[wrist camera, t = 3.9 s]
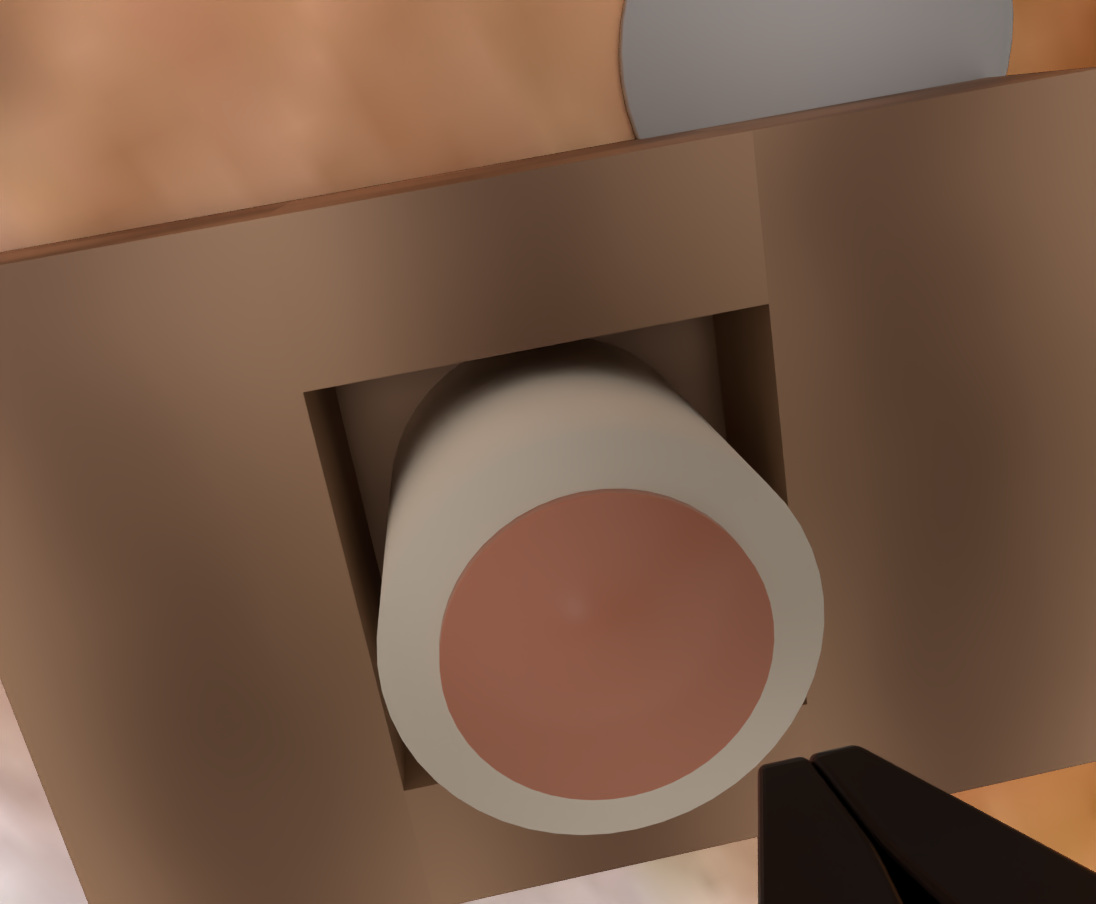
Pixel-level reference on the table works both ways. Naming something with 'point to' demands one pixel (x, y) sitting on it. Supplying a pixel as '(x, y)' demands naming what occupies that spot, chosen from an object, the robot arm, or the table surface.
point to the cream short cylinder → (587, 595)
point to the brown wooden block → (521, 324)
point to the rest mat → (796, 55)
